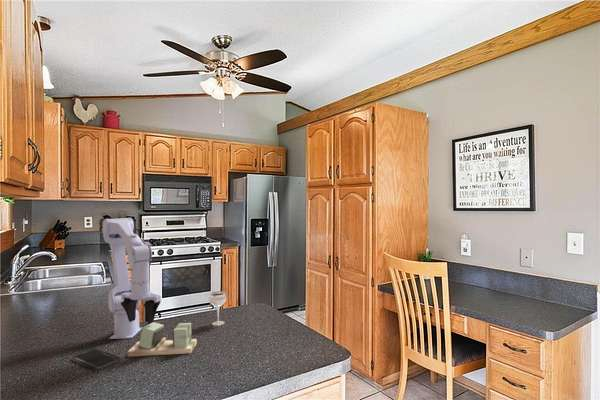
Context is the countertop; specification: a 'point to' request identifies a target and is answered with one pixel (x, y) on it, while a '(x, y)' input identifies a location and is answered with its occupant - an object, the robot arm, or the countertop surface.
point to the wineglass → (217, 303)
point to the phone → (96, 359)
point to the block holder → (169, 343)
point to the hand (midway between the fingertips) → (141, 321)
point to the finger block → (151, 335)
